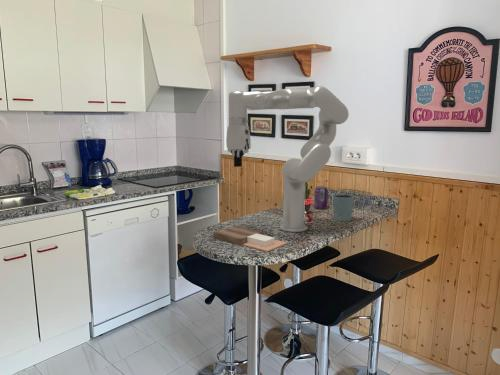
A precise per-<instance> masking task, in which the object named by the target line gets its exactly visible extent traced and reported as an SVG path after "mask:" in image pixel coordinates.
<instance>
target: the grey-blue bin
mask: <svg viewBox="0 0 500 375" xmlns="http://www.w3.org/2000/svg"><path fill="white" fill-rule="evenodd" d="M332 201H333V204H332V205H333V207H332V208H333V220H334V221H336V220H337V221H336V222H341V221H348V222H351V221H352V217H353V216H352V215H353V210H354V209H353V208H354V201H355V196H354V195H352V194H346V193H338V194H333V195H332Z"/></svg>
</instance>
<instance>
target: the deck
mask: <svg viewBox="0 0 500 375" xmlns="http://www.w3.org/2000/svg"><path fill="white" fill-rule="evenodd" d="M254 234H261V235H264V232H263V231H261V230H257V229H252V228H248V227H245V226H239V225H233V226H230V227H227V228H223V229H219V230H217V231H213V232H212V236H213V237H212V238H213V239H216V240H220V241H221V242H227V243H230V244H234V245H237V246H244V245H243V244H245V243H247V237H248V236H251V235H254Z"/></svg>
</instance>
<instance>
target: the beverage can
mask: <svg viewBox="0 0 500 375" xmlns="http://www.w3.org/2000/svg"><path fill="white" fill-rule="evenodd" d="M328 195H329V190H328V187H327V186H325V185H323V186H322V185H319V186H318V185H317V186H316V187H315V189H314V204H313V205H314V208H315V209H317V210H326V209H327V208H328V201H329V200H328Z"/></svg>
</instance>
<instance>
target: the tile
mask: <svg viewBox="0 0 500 375" xmlns="http://www.w3.org/2000/svg"><path fill="white" fill-rule="evenodd" d="M274 240H276V238H275V237H273V236H270V235H269V236H268V235H266V234H265V235H264V234H263V235H261V234H254V235H251V236H248V237H247V243H251V244H255V245H258V246H262V247H267V246H270V245H272V244H274Z"/></svg>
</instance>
